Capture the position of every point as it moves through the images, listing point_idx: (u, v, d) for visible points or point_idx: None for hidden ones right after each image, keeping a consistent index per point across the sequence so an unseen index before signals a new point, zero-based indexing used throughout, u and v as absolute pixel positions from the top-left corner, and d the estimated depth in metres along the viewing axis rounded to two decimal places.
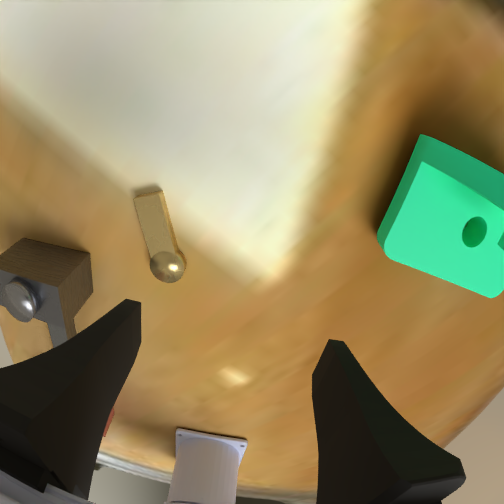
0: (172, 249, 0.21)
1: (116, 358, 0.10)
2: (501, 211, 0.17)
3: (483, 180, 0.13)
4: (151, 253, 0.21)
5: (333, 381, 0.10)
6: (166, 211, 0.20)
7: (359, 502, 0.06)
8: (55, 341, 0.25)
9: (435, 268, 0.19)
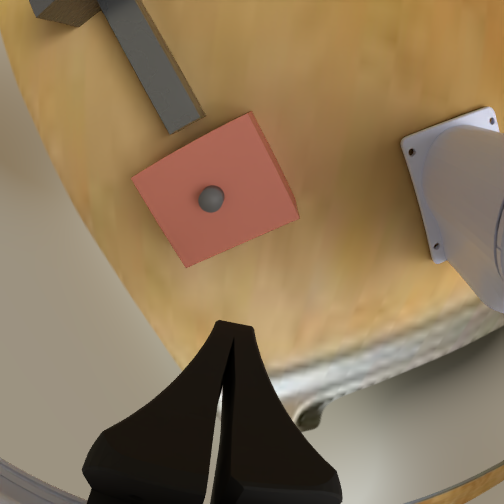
0: None
1: (221, 383, 0.10)
2: None
3: None
4: None
5: (230, 366, 0.10)
6: None
7: (219, 497, 0.06)
8: (137, 60, 0.15)
9: None
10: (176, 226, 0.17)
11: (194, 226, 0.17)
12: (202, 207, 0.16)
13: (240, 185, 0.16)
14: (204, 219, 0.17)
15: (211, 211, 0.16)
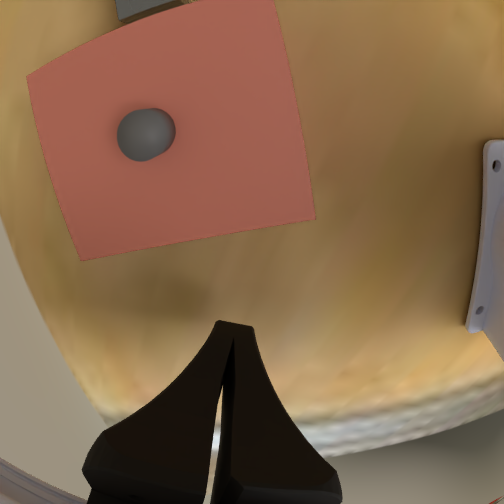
0: None
1: (221, 383, 0.10)
2: None
3: None
4: None
5: (230, 366, 0.10)
6: None
7: (219, 497, 0.06)
8: None
9: None
10: (75, 179, 0.08)
11: (105, 186, 0.08)
12: (122, 146, 0.07)
13: (213, 120, 0.07)
14: (126, 176, 0.08)
15: (138, 158, 0.07)
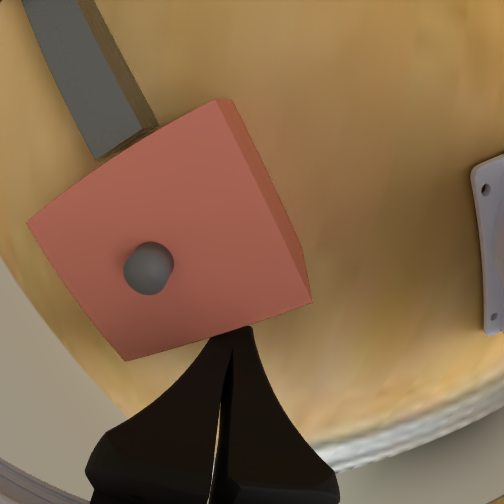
0: None
1: (223, 384, 0.10)
2: None
3: None
4: None
5: (229, 366, 0.10)
6: None
7: (217, 496, 0.06)
8: (49, 41, 0.08)
9: None
10: (101, 304, 0.10)
11: (128, 306, 0.10)
12: (132, 285, 0.08)
13: (202, 243, 0.08)
14: (143, 297, 0.09)
15: (148, 293, 0.08)
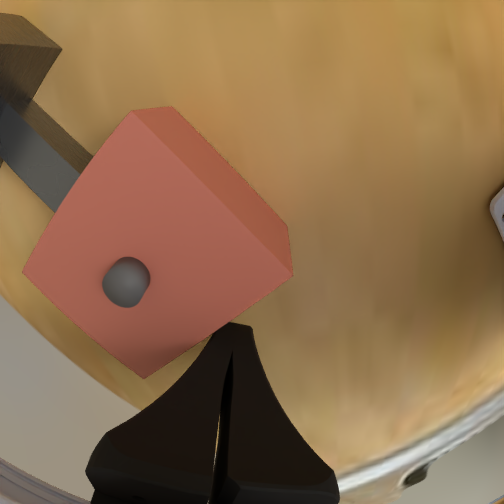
0: None
1: None
2: None
3: None
4: None
5: (228, 366, 0.10)
6: None
7: (216, 496, 0.06)
8: None
9: None
10: (104, 328, 0.10)
11: (126, 324, 0.10)
12: (115, 301, 0.09)
13: (166, 245, 0.09)
14: (135, 312, 0.10)
15: (130, 305, 0.09)
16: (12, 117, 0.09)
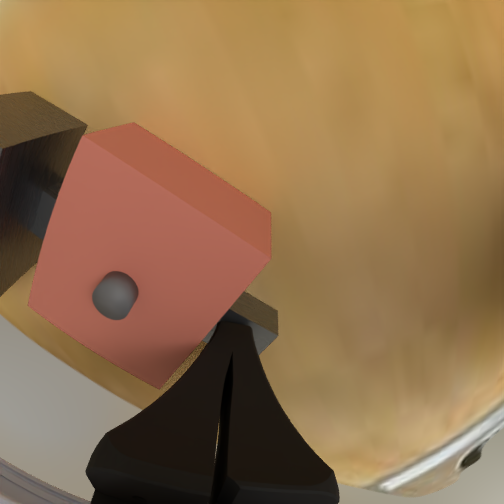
0: None
1: (224, 384, 0.10)
2: None
3: None
4: None
5: (228, 366, 0.10)
6: None
7: (216, 496, 0.06)
8: None
9: None
10: (110, 345, 0.10)
11: (129, 337, 0.10)
12: (108, 316, 0.09)
13: (143, 253, 0.09)
14: (133, 324, 0.10)
15: (122, 316, 0.09)
16: (52, 205, 0.10)
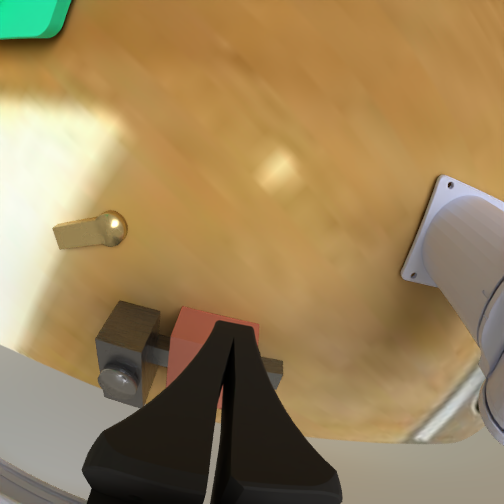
0: (90, 222, 0.21)
1: (221, 384, 0.10)
2: None
3: None
4: (97, 242, 0.21)
5: (230, 366, 0.10)
6: (68, 223, 0.21)
7: (219, 497, 0.06)
8: None
9: None
10: None
11: None
12: None
13: None
14: None
15: None
16: (160, 351, 0.24)
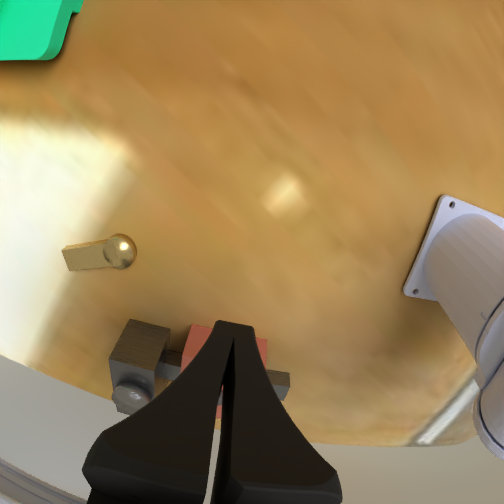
0: (100, 245, 0.21)
1: (221, 384, 0.10)
2: None
3: None
4: (107, 265, 0.22)
5: (230, 366, 0.10)
6: (77, 245, 0.22)
7: (219, 497, 0.06)
8: None
9: None
10: (219, 412, 0.25)
11: None
12: None
13: None
14: None
15: (221, 403, 0.23)
16: (171, 367, 0.25)
